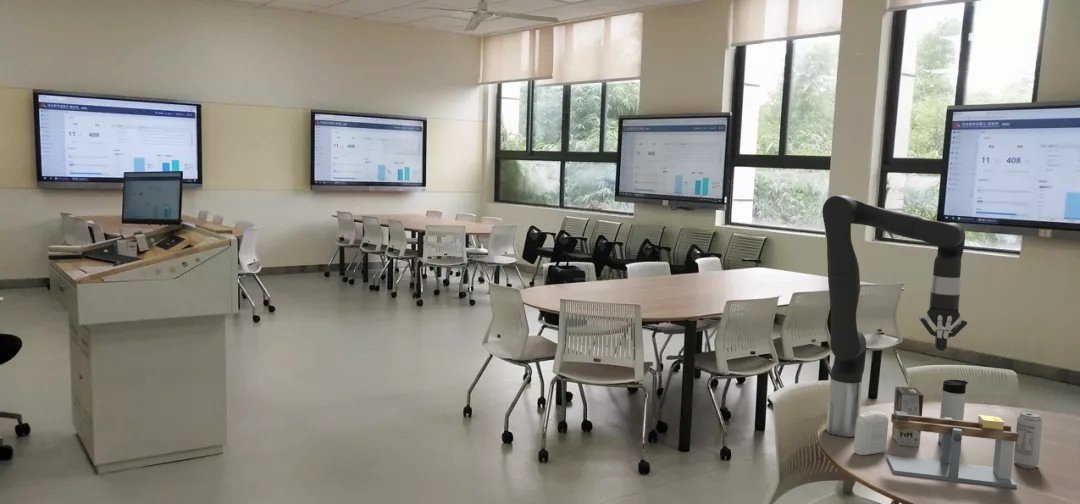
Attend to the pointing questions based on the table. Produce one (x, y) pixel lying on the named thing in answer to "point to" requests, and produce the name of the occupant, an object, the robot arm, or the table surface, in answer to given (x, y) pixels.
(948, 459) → the stand
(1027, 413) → the energy drink can
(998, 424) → the gold metal cube
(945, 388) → the travel mug
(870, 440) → the photo printer
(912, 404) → the coffee box
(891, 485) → the table surface
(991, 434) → the beam
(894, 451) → the table surface
